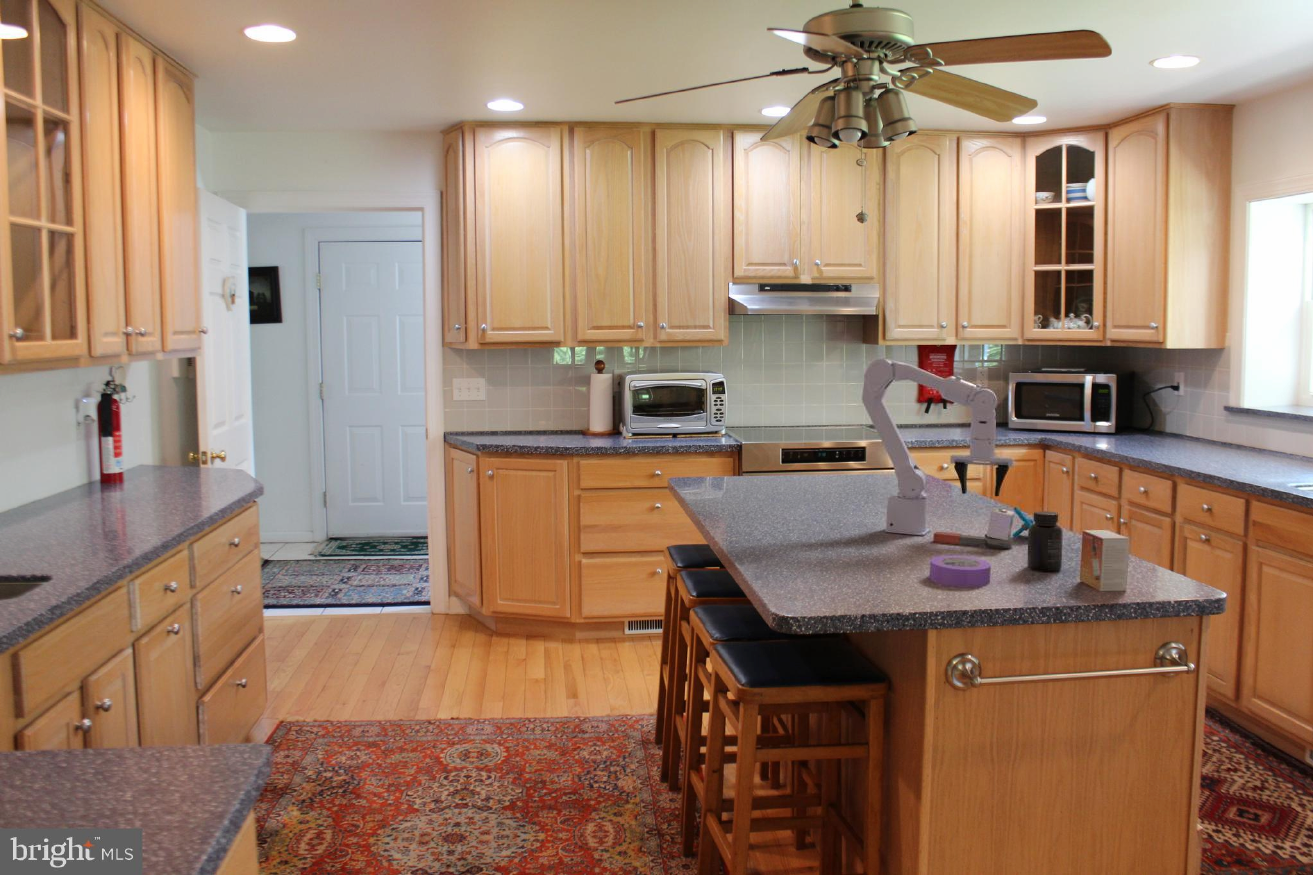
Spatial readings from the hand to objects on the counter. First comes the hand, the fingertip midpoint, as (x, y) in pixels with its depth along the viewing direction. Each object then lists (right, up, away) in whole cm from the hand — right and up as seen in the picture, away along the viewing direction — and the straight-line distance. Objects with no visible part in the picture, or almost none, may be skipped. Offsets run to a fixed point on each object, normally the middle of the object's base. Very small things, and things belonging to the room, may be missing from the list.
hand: (980, 494), depth 245 cm
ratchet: (-4, -11, -8) cm, 14 cm away
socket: (+1, -9, -11) cm, 14 cm away
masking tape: (-17, -15, -41) cm, 47 cm away
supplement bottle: (+3, -14, -32) cm, 35 cm away
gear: (+12, -11, 0) cm, 16 cm away
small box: (+9, -16, -46) cm, 50 cm away
